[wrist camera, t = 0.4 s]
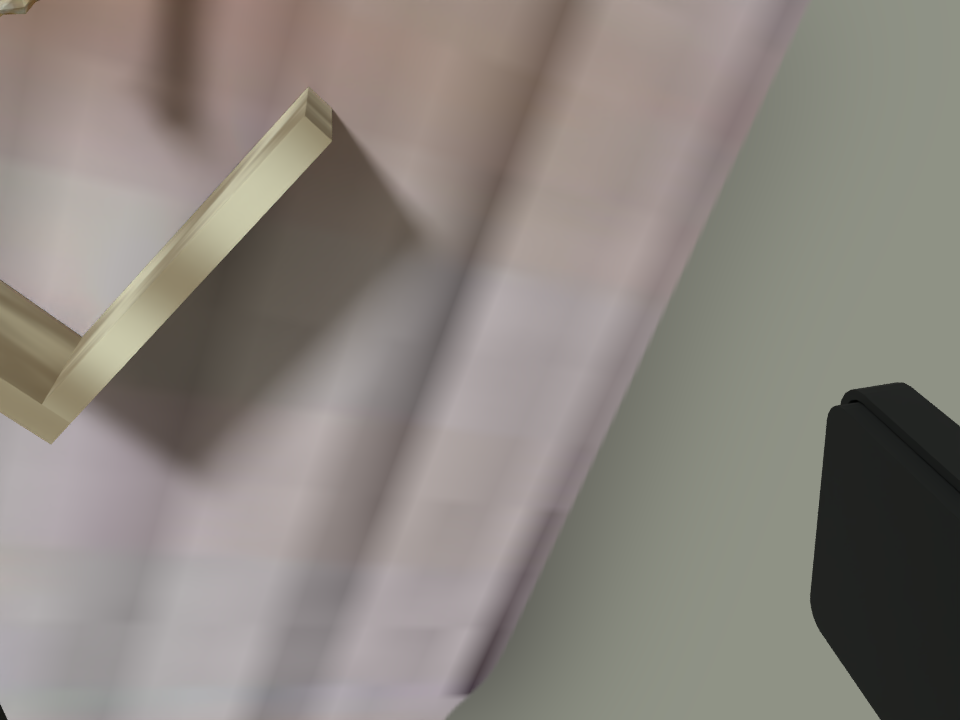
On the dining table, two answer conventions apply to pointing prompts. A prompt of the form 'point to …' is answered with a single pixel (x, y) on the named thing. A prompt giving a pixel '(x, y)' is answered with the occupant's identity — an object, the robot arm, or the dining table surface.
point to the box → (147, 283)
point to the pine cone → (15, 6)
